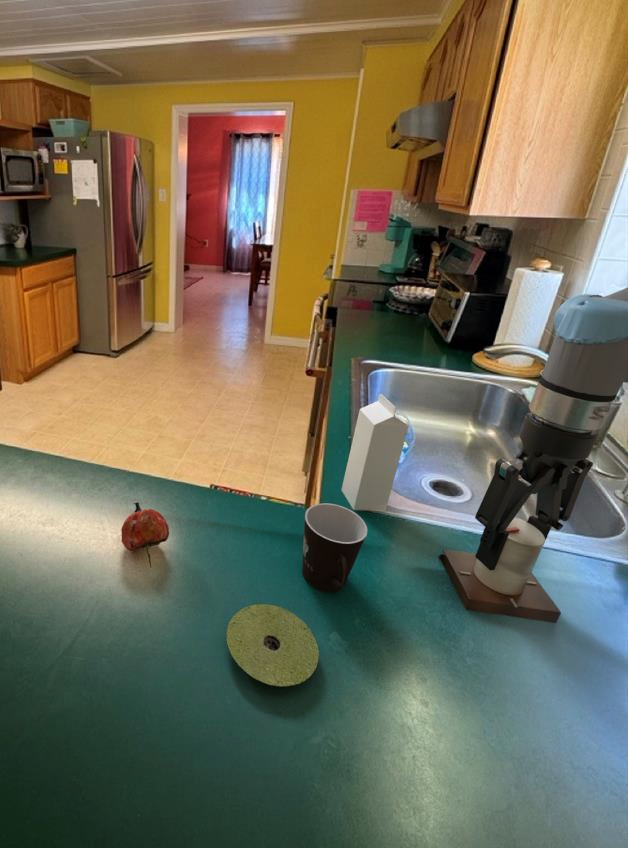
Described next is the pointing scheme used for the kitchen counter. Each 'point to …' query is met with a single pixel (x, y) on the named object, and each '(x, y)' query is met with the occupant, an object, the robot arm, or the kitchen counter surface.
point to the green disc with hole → (272, 645)
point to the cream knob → (513, 559)
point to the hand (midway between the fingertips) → (504, 560)
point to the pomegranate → (144, 530)
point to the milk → (374, 456)
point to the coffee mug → (331, 545)
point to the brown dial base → (485, 599)
